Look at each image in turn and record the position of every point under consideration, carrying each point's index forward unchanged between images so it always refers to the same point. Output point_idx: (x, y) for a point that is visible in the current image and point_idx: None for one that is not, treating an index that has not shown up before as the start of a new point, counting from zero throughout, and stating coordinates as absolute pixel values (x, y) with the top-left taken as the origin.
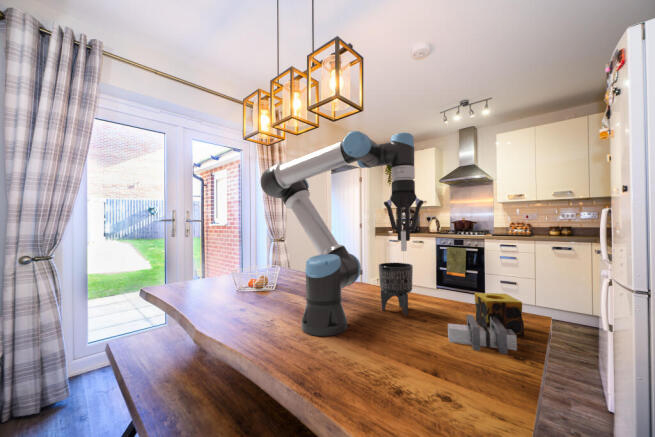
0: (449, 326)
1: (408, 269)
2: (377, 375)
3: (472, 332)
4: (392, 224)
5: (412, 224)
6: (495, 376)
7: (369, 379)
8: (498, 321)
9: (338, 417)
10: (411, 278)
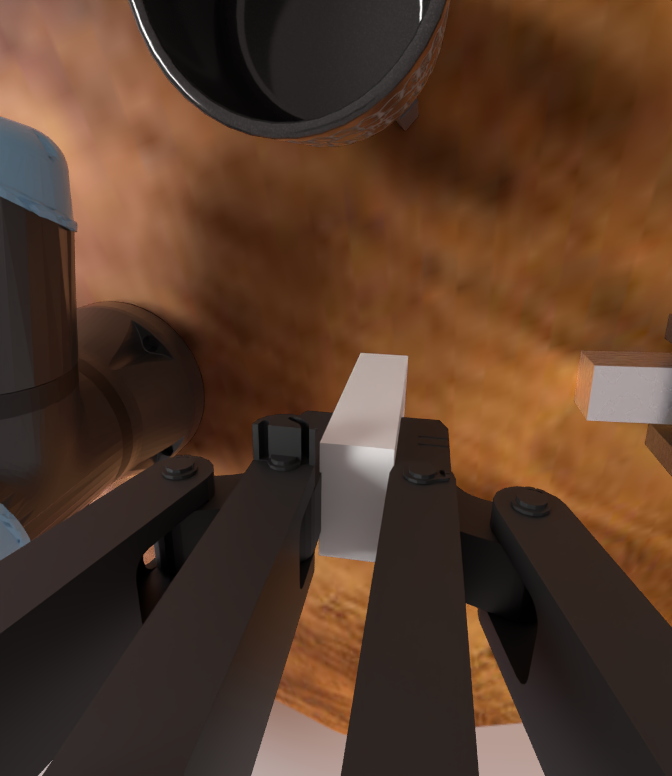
0: (594, 398)
1: (420, 61)
2: (363, 612)
3: (668, 463)
4: (147, 612)
5: (509, 659)
6: (650, 573)
7: (349, 627)
8: None
9: (324, 718)
10: (444, 26)
